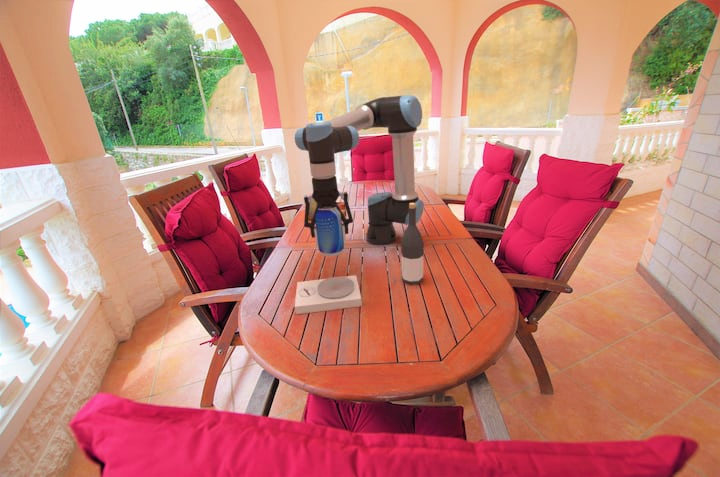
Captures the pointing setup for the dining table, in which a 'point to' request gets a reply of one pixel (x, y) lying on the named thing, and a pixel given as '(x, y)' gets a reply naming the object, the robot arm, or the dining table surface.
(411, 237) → the wine bottle
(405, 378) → the dining table surface
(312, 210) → the cantaloupe
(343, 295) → the scale
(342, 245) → the beer can
